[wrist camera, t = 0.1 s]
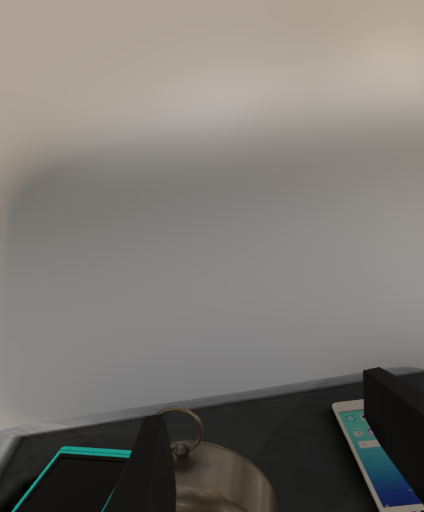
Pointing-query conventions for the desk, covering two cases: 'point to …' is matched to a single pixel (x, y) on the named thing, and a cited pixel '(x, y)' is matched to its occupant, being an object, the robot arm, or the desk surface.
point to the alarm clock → (217, 477)
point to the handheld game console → (76, 481)
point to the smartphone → (374, 461)
